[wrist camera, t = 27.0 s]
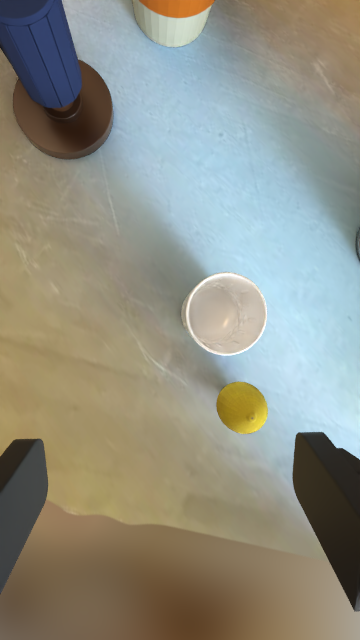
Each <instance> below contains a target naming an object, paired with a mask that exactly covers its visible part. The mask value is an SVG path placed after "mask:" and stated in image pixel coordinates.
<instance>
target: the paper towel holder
mask: <svg viewBox="0 0 360 640" xmlns="http://www.w3.org/2000/svg"><path fill="white" fill-rule="evenodd" d="M78 62H79V66H80V70H81V76H82V86H81V87H82V88H81V90H80V92H79V94H78V96H77V98H76V99H74V100H75V101H73V102H71V103H70V104H68V105H66V106H64V107H61V108H47V106H46V107H44V106H42V105H41V104H39V103H37V102H35V101H33V100H32V99H31V98H30V96H29V94H28V93H27V91H26V90H25V88H24V87H23V85H22V83H21V81H20V79H18V81H17V83H16V86H15V89H14V93H13V109H14V114H15V117H16V120H17V122H18V124H19V126H20V128H21V129H22V131H23V132H24V134H25V135H26V137H27V138H28V139H29V141H30V142H31V143H32V144H33V145H34V146H35V147H37V148H38V149H39V150H41V151H42V152H44V153H46V154H48V155H50V156H53V157H56V158H61V159H77V158H81V157H84V156H87V155H89V154H91V153H93V152H94V151H96V150H97V149H98V148H99V147H100V146H101V145H102V144H103V143H104V142H105V140H106V139H107V137H108V135H109V134H110V131H111V128H112V124H113V106H112V101H111V96H110V92H109V90H108V87H107V85H106V83H105V82H104V80H103V79H102V77H101V76H100V75H99V74H98V73H97V72H96V71H95V70H94V69H93V68H92V67H91V66H89V65H88V64H86V63H84V62H83V61H80V60H78Z"/></svg>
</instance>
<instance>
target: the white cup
mask: <svg viewBox="0 0 360 640" xmlns="http://www.w3.org/2000/svg"><path fill="white" fill-rule="evenodd" d="M181 318H182V322H183V325H184V327H185V329H186V331H187V332H188V334H189V335H190V336H191V337H192V338H193V339H194V340H195V341H196V342H197V343H198V344H199V345H200V346H201V347H202V348H204V349H205V350H207V351H209V352H212V353H214V354H218V355H234V354H238V353H241V352H243V351H245V350H247V349H249V348H250V347H251V346H252V345H254V344H255V343H256V342H257V340H258V339H259V338H260V336H261V335H262V333H263V331H264V328H265V325H266V320H267V307H266V302H265V299H264V297H263V295H262V293H261V291H260V290H259V288H258V287H257V286H256V285H255V284H254V283H253V282H252V281H251V280H249V279H248V278H246V277H244V276H242V275H240V274H236V273H230V272H223V273H217V274H213V275H211V276H209V277H207V278H205V279H204V280H202V281H201V282H200V283H199V284H198V285H197V286H196V287H194V288H193V289H192V290H191V291H190V293H189V294H188V295H187V297H186V299H185V301H184V302H183V305H182V311H181Z"/></svg>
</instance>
